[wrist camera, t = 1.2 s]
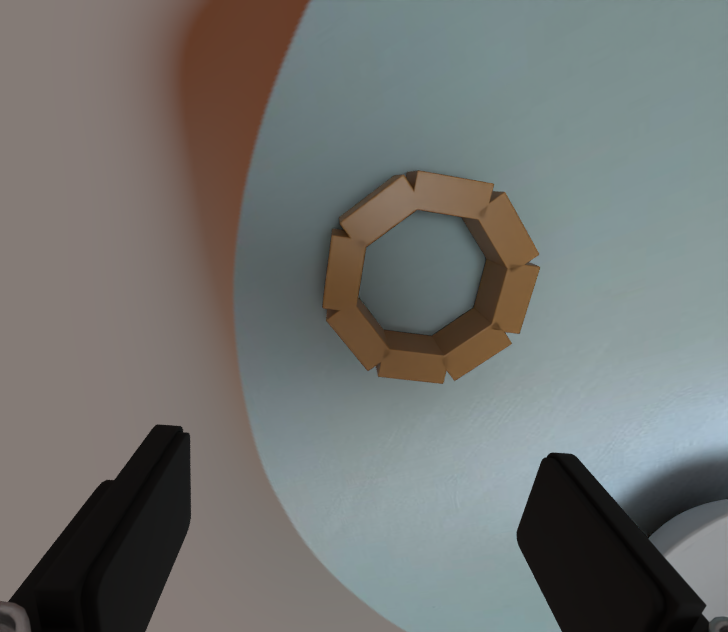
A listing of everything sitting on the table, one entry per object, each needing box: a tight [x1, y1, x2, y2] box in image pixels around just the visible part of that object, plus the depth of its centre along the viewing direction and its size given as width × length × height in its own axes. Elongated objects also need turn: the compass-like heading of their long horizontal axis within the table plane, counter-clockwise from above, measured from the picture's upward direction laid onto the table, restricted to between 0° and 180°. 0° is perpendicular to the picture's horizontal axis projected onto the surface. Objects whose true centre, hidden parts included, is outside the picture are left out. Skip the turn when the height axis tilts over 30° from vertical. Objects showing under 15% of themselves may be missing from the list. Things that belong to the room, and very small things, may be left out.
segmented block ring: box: [322, 170, 540, 384], centre depth 22 cm, size 11×11×3 cm
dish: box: [648, 499, 728, 622], centre depth 30 cm, size 18×14×5 cm
